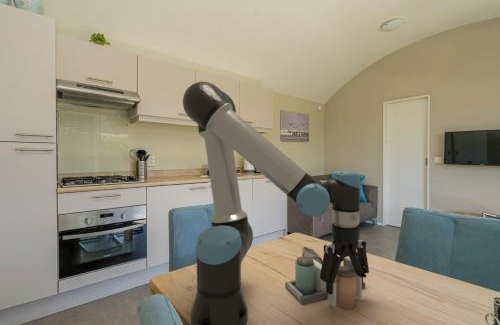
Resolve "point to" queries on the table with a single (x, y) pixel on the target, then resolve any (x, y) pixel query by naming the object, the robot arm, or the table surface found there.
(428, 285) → the table surface
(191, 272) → the table surface
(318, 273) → the pusher
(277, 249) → the table surface
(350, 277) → the jar terracotta
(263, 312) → the table surface
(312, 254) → the mineral rock
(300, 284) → the jar teal
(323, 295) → the lane
